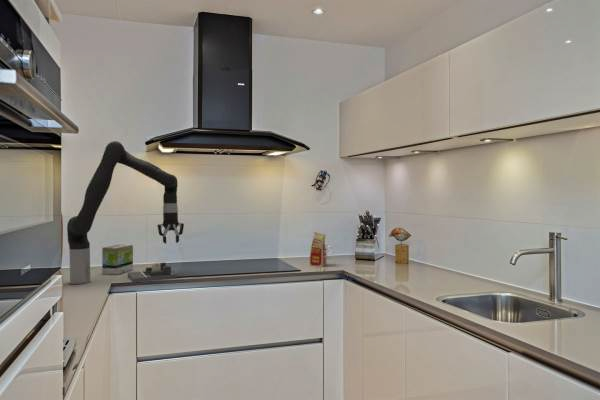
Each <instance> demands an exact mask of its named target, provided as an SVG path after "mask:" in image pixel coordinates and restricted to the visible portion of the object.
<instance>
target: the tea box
mask: <svg viewBox="0 0 600 400" xmlns="http://www.w3.org/2000/svg"><path fill="white" fill-rule="evenodd" d="M101 252H102V254H101V259H102V260H101V262H102V263H101V264H102V265H101V268H102V269H101V270H102V271H101V273H102V275H120V274H123V273H128V272H130V271H133V269H134V245H132V244H115V245H110V246H105V247H102V251H101Z"/></svg>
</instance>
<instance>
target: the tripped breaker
mask: <svg viewBox="0 0 600 400" xmlns="http://www.w3.org/2000/svg"><path fill="white" fill-rule="evenodd" d="M160 263H161V262H155V263H154V262H153V263H151V267H152V271H161V264H160Z"/></svg>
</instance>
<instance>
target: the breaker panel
mask: <svg viewBox="0 0 600 400" xmlns="http://www.w3.org/2000/svg"><path fill="white" fill-rule="evenodd" d="M159 263H160V264H161V271H152V266H151V267H145V270H140V271H134V272H133V271H131V272H130V271H129V272H127V277H128V278H129V279H130V281H131V282H132V283H143V282H145V283H146V282H152V281H161V280H163V279H164V280H173V279H178V273H176V272H175V271H173V270H172V267H171V265H166V262H159ZM172 278H173V279H172Z"/></svg>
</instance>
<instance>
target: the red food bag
mask: <svg viewBox="0 0 600 400" xmlns="http://www.w3.org/2000/svg"><path fill="white" fill-rule="evenodd" d="M313 233H314V234H313V237H312V241H311V242H312V243H311V246H310V252H309V265H308V266H309V267H312V268H322V267H326V266H327V256H326V255H327V254H326V252H327V250H326V240H325V238H326V236H327V234H323V233H318V232H316V231H314V232H313Z"/></svg>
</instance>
